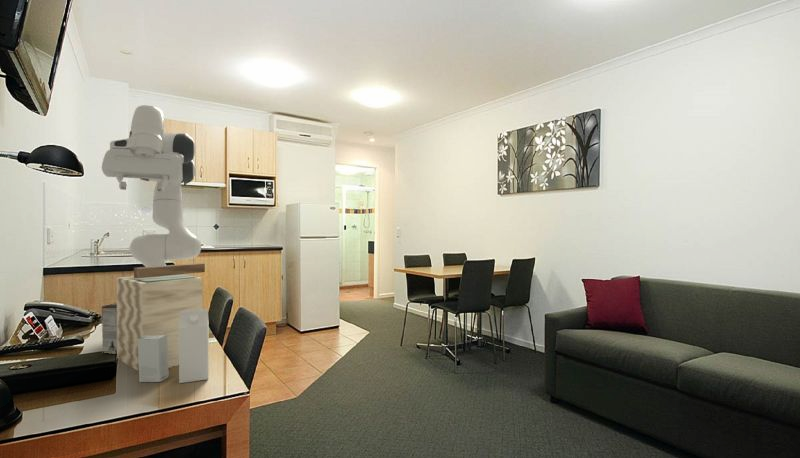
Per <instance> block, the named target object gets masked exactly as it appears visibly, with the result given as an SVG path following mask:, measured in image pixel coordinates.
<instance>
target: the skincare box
mask: <svg viewBox="0 0 800 458" xmlns="http://www.w3.org/2000/svg"><path fill="white" fill-rule="evenodd" d="M138 360H139V371H138V377H139V378H138V379H139V383H161V382H163V381H165V380H167V379H168V378H169V376H170V375H169V368H168V347H167V335H146V336H143V337H141V338H139V339H138Z"/></svg>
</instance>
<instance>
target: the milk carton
mask: <svg viewBox="0 0 800 458" xmlns="http://www.w3.org/2000/svg"><path fill="white" fill-rule="evenodd" d="M209 320H210V319H209V309H208V308H204V309H200V310H186V311H180V318H179V365H178V383H179V384H185V383H190V382H197V381H198V382H199V381H206V380H209V375H210V373H209V372H210V353H209V352H210V346H209V345H210V343H209V342H210V341H209V339H210V338H209V330H210V329H209V328H210V327H209V324H210V323H209Z"/></svg>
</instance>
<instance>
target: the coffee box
mask: <svg viewBox="0 0 800 458" xmlns="http://www.w3.org/2000/svg"><path fill="white" fill-rule="evenodd" d="M101 326H102V327H101V328H102V329H101V331H102V352H103V351H111V350H116V351H117V302H115V303H112V304H106V305H102V306H101Z"/></svg>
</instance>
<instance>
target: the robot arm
mask: <svg viewBox="0 0 800 458" xmlns="http://www.w3.org/2000/svg"><path fill="white" fill-rule="evenodd" d="M195 154H196V144H195V141H194V139H193V138H192V137H191V136H190V135H189V134H188V133H181V132H180V133H179V132H178V133H176V132H175V133H172V132H165V117H164V113H163V111H162V110H161V109H160V108H158V107H156V106H153V105H145V104H144V105H139V106H137V107H135V110H134V112H133V116H132V119H131V125H130V131H129V136H128V138H124V139H117V140H111V141H110V142H109V149H108V150H107V151H105V153H104V157H103V160H102V162H101V171H102V173H103V174H104V176H106V178H116V180H117V182H118V183H119V185H118V188H119V190H124V191H125V190H127V186H128V185H127V182H126V181H123V180H124V178H125V179H126V178H127V179H128V178H129V179H140V180H141V181H144V182H145V181H146V182H150V181H151V182H156V183H155V187H154V193H153V200H152V220H153V222H154V224H156V225H158V226H159V227H162V228H164V229H167V230H168V231H169V232H168V233H165V234H164V233H156V234H149V233H148V234H144V235H137V236H135V237H134V238H133V239H132V241H130V245H129V251H130V254H131V256H132V257H133V258H134V259H135V260H136V261H138V262H140V263H141V264H142V265H143V267H153V266H166V265H167V264H166V262H167V261H186V260H190V259H196V258H197V257H198V256H199V255H200V253H201V251H202V243H201V240H200V239H199V237H197V235H195V234H193V233H192V232H191V231H190V230H189V229H188V227H187V225H186V224H185V222H184V216H183V215H184V213H183V211H184V210H183V193H182V192H183V191H182V184H183V185H184V187H185V186H187V184H189V183H191V182H192V181H193V180H194V178H195V176H196V173H197V167H196V164H195V163H194V158H195V156H196V155H195Z"/></svg>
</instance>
